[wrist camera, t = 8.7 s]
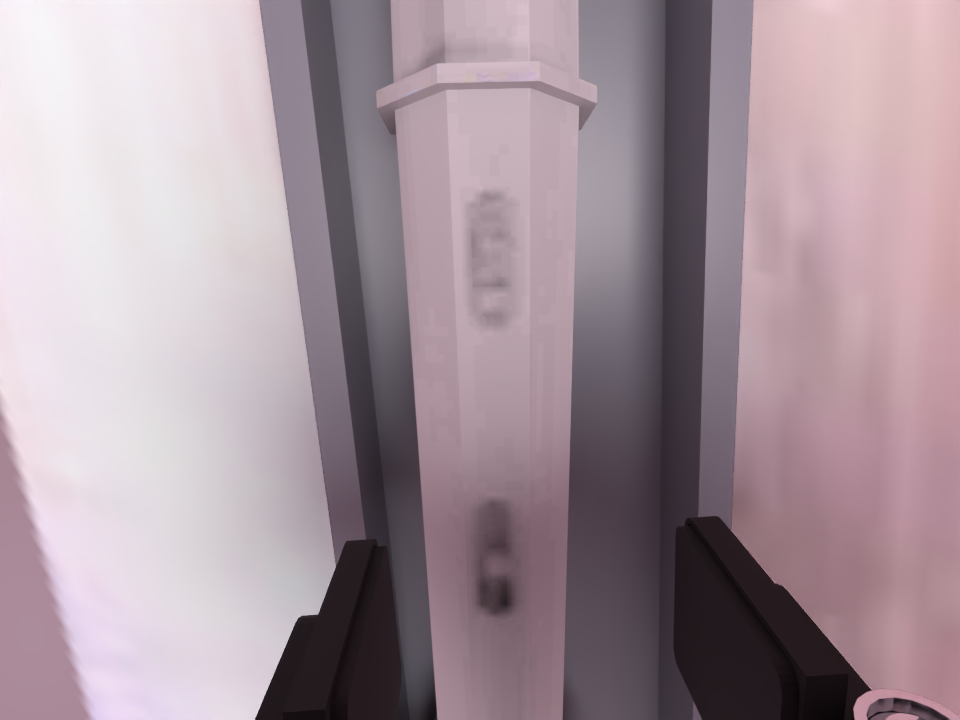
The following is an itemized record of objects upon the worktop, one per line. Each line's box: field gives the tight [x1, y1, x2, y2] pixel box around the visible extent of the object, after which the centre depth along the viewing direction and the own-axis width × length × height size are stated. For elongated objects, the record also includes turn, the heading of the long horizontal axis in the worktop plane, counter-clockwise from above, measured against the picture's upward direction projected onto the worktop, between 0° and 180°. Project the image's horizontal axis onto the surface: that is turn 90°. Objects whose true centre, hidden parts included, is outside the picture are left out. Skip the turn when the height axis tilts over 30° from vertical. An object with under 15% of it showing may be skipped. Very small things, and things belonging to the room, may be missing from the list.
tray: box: [259, 0, 753, 720], centre depth 16 cm, size 30×10×4 cm, turn 4°
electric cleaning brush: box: [376, 0, 597, 720], centre depth 15 cm, size 5×7×25 cm
